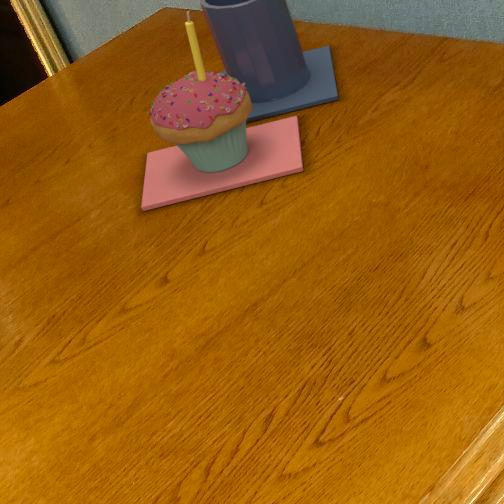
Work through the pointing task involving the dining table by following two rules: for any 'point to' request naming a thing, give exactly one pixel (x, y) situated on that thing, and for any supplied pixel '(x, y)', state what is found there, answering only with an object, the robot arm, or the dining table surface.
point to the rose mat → (245, 173)
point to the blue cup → (258, 46)
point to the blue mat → (304, 88)
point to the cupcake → (204, 115)
